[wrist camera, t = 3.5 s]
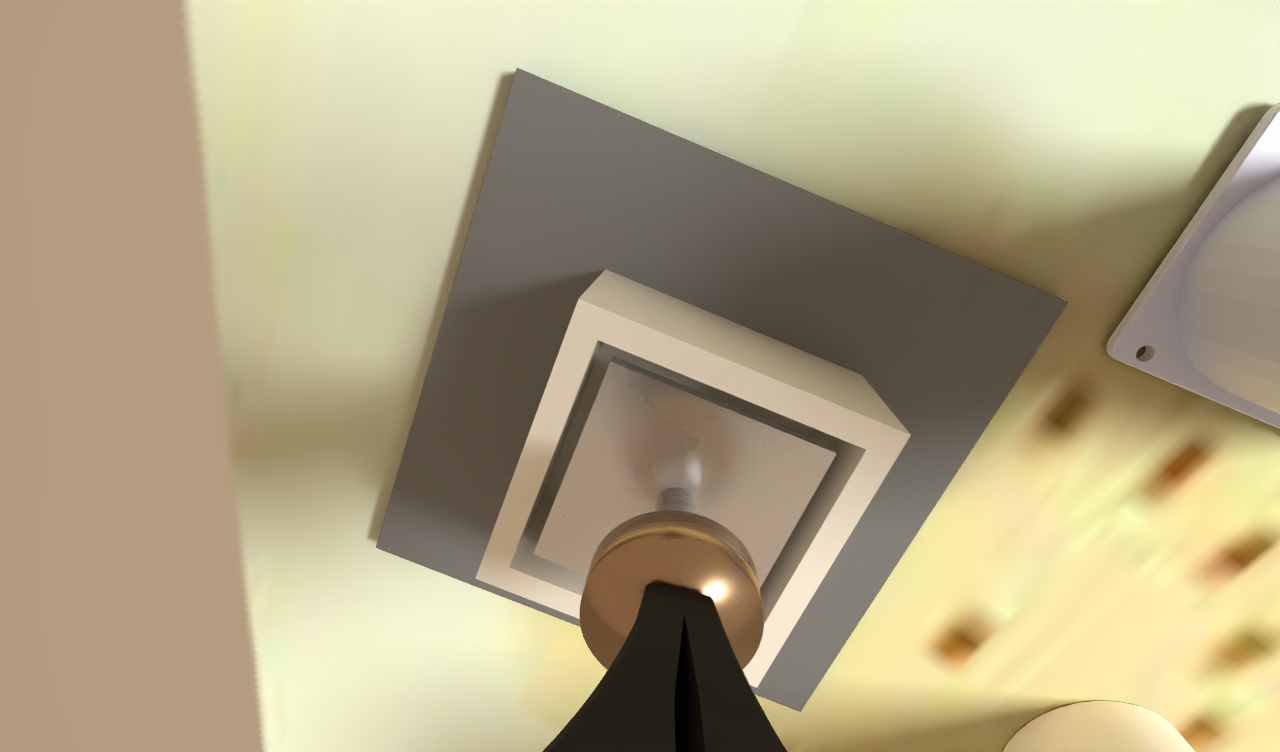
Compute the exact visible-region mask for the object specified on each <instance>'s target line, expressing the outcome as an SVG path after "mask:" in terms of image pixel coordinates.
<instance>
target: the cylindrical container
mask: <svg viewBox="0 0 1280 752" xmlns="http://www.w3.org/2000/svg"><path fill="white" fill-rule="evenodd" d="M1003 752H1195V751H1194V750H1193V749H1192V748H1191V746H1190V745H1189V744H1188V743H1187V742H1186V741H1185V739H1184V738H1183V737H1182V736H1181V735H1180V734H1179V732H1178V731H1177V730H1176V729H1175V728H1174V727H1173V726H1172V725H1171V724H1170V723H1169V722H1168V721H1167V720H1165V719H1164V718H1162V717H1161V716H1159V715H1158V714H1156V713H1154V712H1152V711H1150V710H1147V709H1145V708H1142V707H1140V706H1137V705H1132V704H1128V703H1123V702H1116V701H1091V702H1082V703H1075V704H1072V705H1068V706H1064V707H1060V708H1057V709H1055V710H1052V711H1050V712H1047V713H1045V714H1043V715H1041V716H1039V717H1037V718H1036V719H1034V720H1032V721H1031V722H1029V723H1028V724H1026V725H1025V726H1024V727H1023V728H1022V729H1020V730H1019V731H1018V732H1017V733H1016V734H1015V735H1014V736H1013V737H1012V739H1011V740H1010V741H1009V742H1008V744H1007V745H1006V747H1005V749H1004V751H1003Z"/></svg>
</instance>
